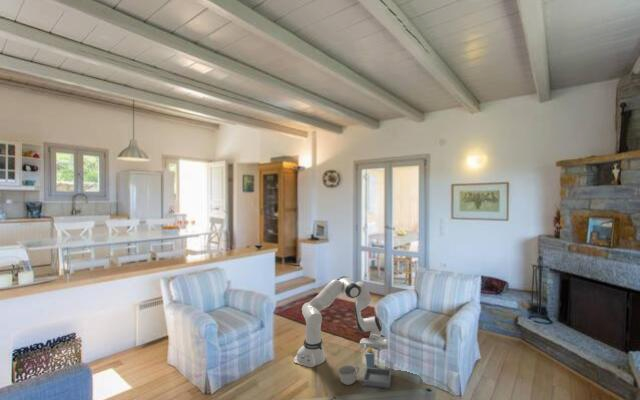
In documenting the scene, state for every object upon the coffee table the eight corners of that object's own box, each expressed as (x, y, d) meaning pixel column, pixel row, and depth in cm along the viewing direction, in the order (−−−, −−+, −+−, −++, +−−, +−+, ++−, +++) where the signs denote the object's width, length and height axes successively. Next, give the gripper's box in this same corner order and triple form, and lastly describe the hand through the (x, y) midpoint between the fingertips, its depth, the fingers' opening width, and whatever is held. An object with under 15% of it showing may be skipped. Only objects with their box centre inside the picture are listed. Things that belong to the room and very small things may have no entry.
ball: (367, 353, 211) (367, 348, 211) (368, 350, 214) (367, 346, 214) (371, 353, 210) (371, 349, 210) (372, 351, 213) (372, 346, 213)
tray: (363, 386, 193) (362, 380, 193) (366, 372, 207) (366, 367, 207) (389, 388, 189) (389, 383, 189) (391, 374, 202) (391, 369, 202)
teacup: (343, 389, 192) (341, 376, 192) (337, 378, 203) (336, 366, 202) (364, 383, 196) (363, 371, 195) (357, 373, 206) (356, 361, 206)
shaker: (366, 368, 211) (365, 353, 211) (367, 363, 216) (366, 349, 215) (374, 368, 210) (373, 353, 209) (375, 364, 215) (374, 349, 214)
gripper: (360, 334, 240) (357, 344, 226) (388, 336, 234) (386, 346, 220) (361, 342, 240) (358, 352, 227) (388, 344, 234) (387, 354, 221)
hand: (372, 349), depth 224 cm, fingers open, 8 cm apart
